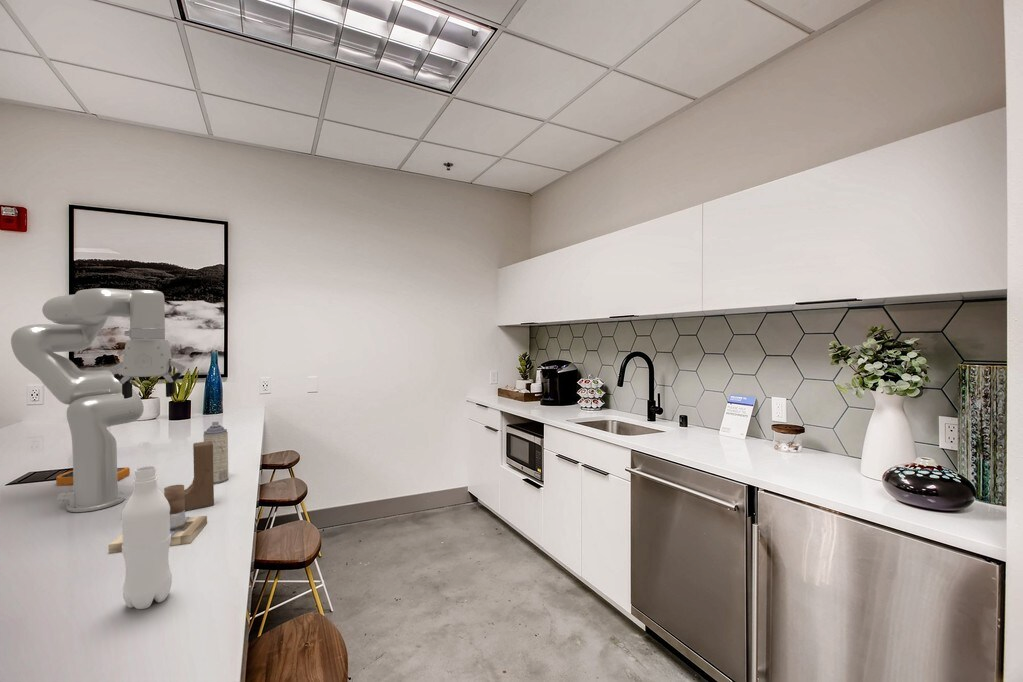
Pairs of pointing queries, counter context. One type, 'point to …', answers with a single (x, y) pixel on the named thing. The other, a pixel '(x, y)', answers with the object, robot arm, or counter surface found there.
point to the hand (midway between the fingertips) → (149, 397)
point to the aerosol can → (218, 451)
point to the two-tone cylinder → (176, 507)
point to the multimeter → (68, 476)
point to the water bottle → (146, 542)
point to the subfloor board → (182, 537)
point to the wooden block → (201, 478)
